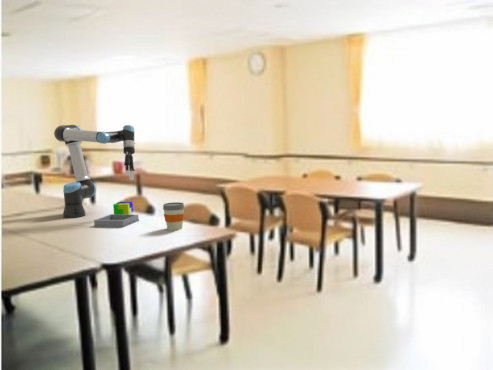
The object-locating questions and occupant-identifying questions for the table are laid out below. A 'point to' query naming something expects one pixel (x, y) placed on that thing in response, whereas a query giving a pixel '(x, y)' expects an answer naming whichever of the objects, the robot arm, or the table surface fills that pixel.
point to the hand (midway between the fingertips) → (129, 177)
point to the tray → (116, 220)
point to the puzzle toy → (123, 208)
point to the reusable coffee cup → (174, 215)
